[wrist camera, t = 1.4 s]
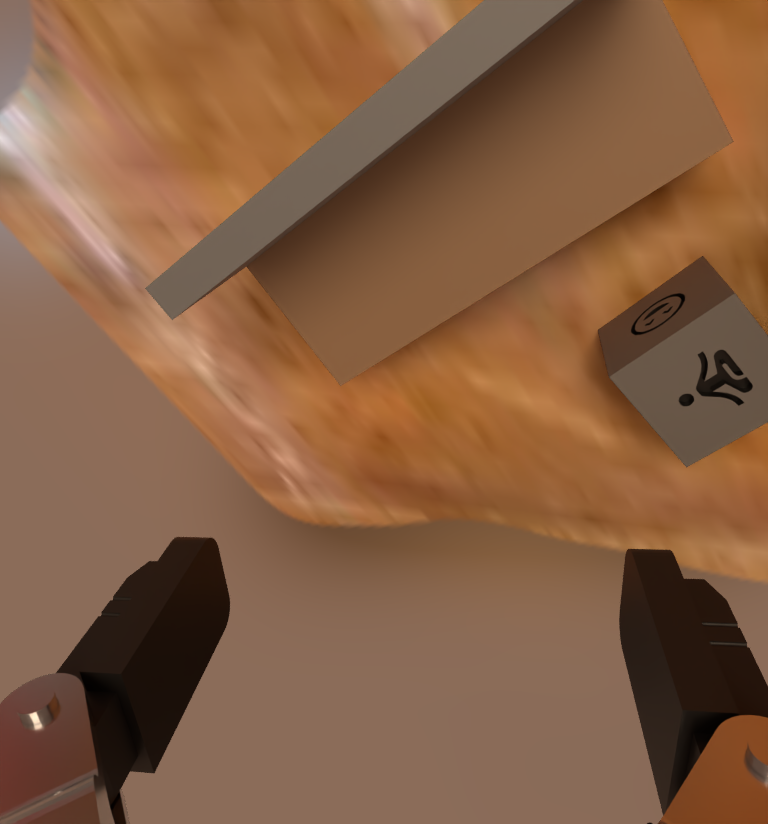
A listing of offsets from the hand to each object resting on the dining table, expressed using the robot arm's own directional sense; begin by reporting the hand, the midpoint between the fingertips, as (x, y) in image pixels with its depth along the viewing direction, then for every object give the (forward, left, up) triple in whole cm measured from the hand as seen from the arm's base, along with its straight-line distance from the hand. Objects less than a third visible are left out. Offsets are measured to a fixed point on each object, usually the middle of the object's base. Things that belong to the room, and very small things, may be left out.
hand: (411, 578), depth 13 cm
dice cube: (-6, +7, -19) cm, 21 cm away
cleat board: (-2, -4, -19) cm, 19 cm away
